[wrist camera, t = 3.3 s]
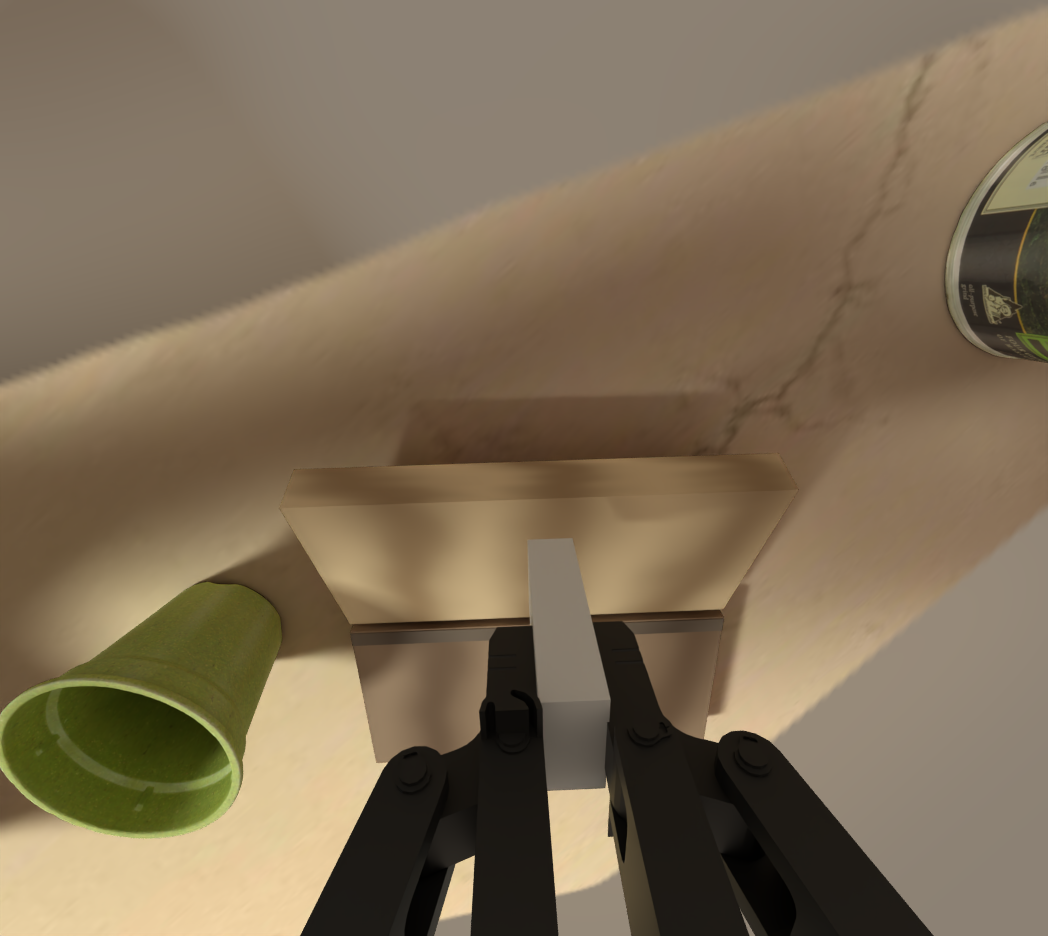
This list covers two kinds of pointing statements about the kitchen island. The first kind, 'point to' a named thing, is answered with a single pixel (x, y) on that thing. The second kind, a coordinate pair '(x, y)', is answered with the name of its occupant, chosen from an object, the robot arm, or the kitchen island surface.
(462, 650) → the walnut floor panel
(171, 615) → the plant pot
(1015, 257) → the coffee can
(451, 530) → the oak plank
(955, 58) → the kitchen island surface
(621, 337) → the kitchen island surface
